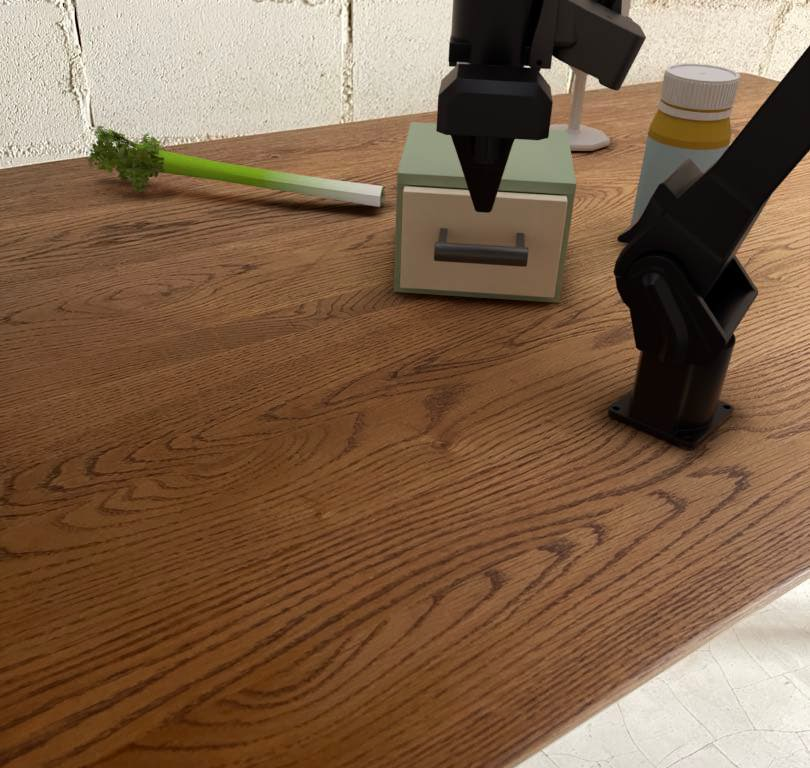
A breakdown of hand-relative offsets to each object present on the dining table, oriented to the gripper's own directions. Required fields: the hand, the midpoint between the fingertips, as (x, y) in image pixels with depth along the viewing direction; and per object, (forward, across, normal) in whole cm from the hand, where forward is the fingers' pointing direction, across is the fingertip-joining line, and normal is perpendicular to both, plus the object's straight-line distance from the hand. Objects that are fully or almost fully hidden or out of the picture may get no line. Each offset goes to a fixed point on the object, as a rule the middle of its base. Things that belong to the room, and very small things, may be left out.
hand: (483, 210), depth 62 cm
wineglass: (+11, +55, -11) cm, 58 cm away
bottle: (+11, +24, -18) cm, 32 cm away
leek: (+11, +30, +24) cm, 40 cm away
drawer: (+10, +13, 0) cm, 16 cm away
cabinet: (+11, +17, 0) cm, 20 cm away
